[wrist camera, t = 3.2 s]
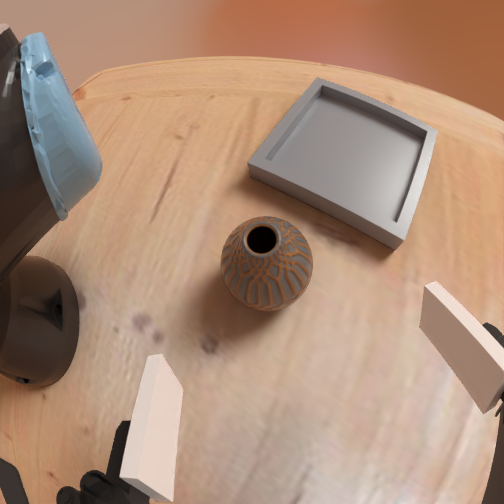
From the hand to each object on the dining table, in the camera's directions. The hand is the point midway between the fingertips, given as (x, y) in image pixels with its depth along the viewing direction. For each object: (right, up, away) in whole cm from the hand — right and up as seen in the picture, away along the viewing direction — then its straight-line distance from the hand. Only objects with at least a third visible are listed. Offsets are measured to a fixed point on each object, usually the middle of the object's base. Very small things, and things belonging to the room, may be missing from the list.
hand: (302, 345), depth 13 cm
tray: (+8, +15, +16) cm, 23 cm away
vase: (-1, +2, +13) cm, 13 cm away
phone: (-37, -32, +5) cm, 49 cm away
